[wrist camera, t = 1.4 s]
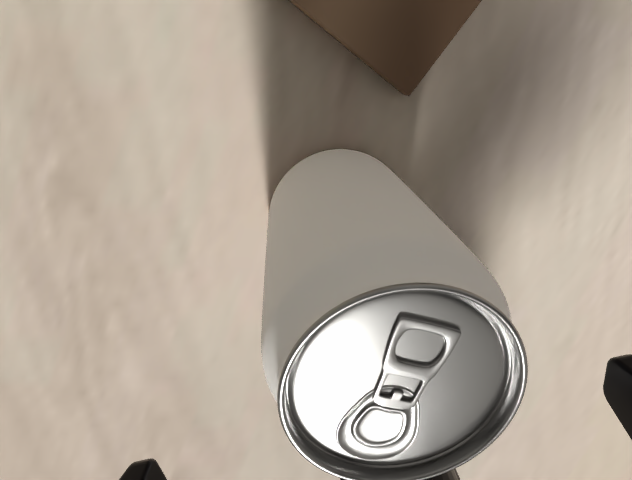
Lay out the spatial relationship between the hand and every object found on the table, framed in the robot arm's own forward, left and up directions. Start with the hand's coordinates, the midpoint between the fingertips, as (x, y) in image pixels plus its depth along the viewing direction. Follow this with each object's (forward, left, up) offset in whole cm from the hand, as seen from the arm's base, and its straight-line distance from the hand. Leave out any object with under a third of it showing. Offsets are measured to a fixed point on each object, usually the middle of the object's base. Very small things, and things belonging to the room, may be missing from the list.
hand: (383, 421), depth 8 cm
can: (-1, 0, -13) cm, 13 cm away
